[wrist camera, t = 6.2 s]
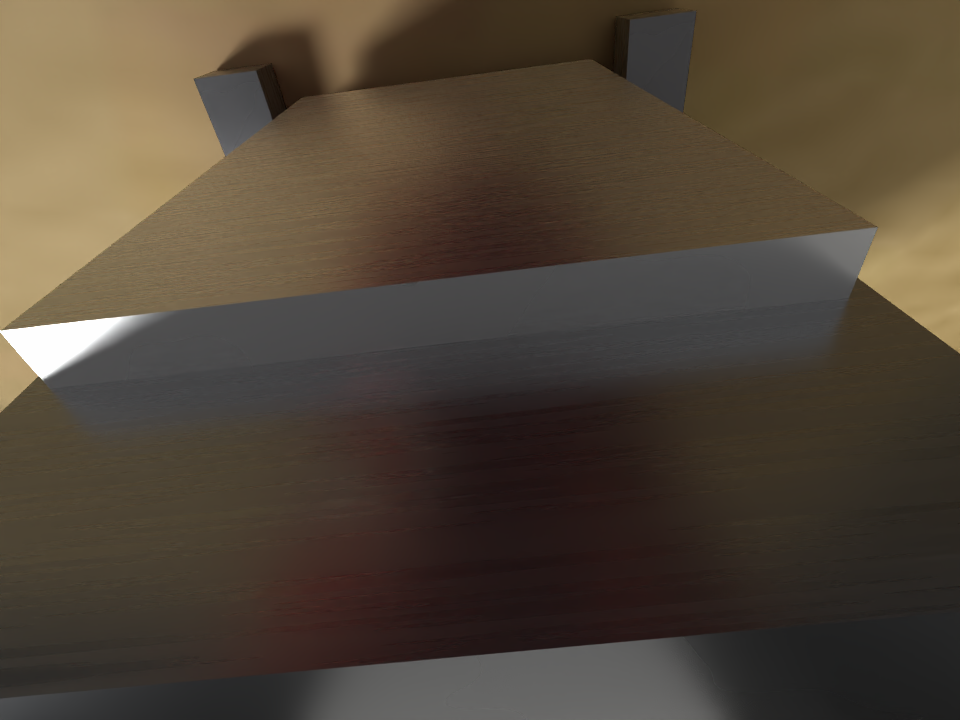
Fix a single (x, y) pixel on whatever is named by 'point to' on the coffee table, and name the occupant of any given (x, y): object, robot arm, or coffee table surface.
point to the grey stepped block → (482, 434)
